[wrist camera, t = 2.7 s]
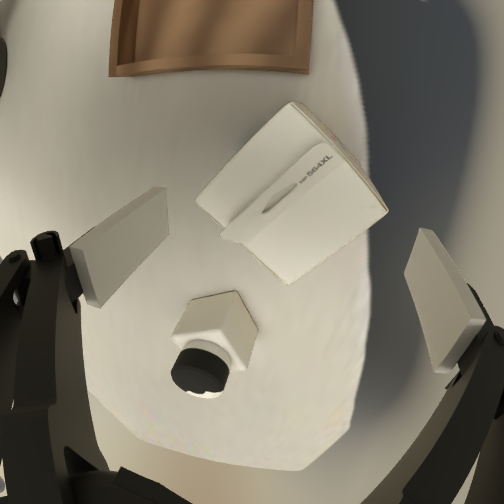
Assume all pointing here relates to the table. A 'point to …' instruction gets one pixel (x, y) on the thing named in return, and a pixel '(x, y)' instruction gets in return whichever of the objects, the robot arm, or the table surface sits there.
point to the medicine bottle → (212, 343)
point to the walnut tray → (209, 36)
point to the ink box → (292, 195)
